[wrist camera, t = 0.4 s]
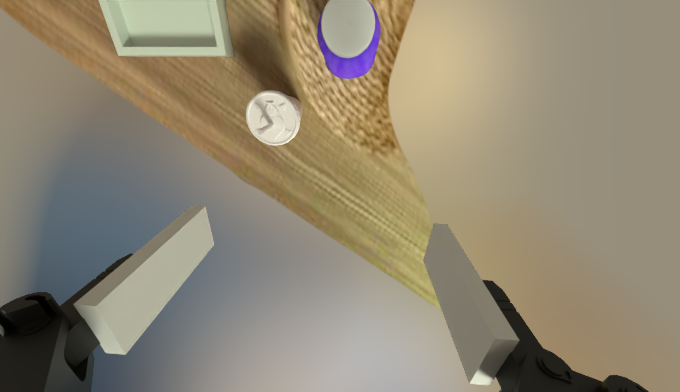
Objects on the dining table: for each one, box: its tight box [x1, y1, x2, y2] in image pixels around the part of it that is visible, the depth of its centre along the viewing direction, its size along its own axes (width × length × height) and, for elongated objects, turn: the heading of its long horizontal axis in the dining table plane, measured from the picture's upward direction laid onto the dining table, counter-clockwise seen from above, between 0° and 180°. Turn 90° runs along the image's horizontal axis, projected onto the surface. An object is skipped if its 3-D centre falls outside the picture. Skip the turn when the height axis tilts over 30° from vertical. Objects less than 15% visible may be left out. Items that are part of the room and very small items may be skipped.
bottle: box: [317, 0, 380, 79], centre depth 25 cm, size 7×6×17 cm
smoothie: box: [246, 90, 302, 146], centre depth 31 cm, size 6×6×14 cm
